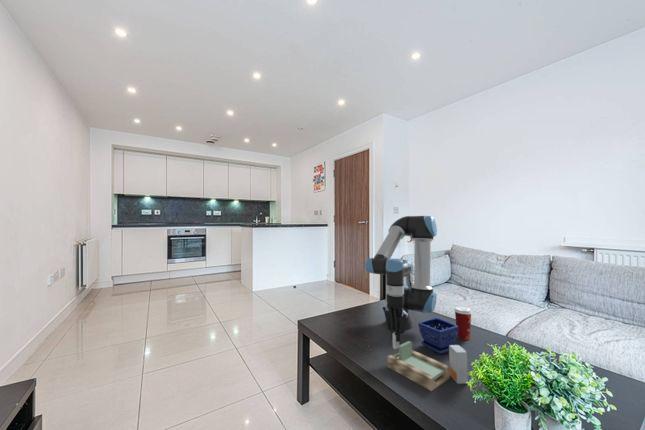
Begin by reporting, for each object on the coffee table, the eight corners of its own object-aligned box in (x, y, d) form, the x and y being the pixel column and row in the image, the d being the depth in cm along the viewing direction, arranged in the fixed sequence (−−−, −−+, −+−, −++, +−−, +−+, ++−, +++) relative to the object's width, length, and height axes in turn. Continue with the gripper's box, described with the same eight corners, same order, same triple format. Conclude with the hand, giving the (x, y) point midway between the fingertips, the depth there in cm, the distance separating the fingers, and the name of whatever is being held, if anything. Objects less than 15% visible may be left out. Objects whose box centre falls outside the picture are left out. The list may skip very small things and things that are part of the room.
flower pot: (440, 358, 119) (440, 331, 119) (417, 345, 131) (417, 321, 131) (459, 351, 125) (459, 325, 125) (436, 339, 137) (435, 316, 137)
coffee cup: (474, 341, 134) (474, 311, 134) (457, 340, 136) (456, 311, 136) (469, 334, 142) (468, 306, 143) (452, 333, 144) (452, 305, 144)
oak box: (387, 367, 112) (387, 356, 112) (406, 357, 120) (406, 347, 120) (431, 391, 96) (431, 378, 96) (449, 378, 104) (449, 366, 104)
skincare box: (449, 374, 106) (448, 344, 106) (459, 374, 106) (458, 344, 107) (457, 384, 100) (456, 352, 100) (468, 383, 100) (467, 352, 100)
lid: (393, 361, 113) (393, 344, 113) (405, 355, 118) (405, 338, 118) (432, 381, 98) (431, 361, 99) (444, 373, 103) (443, 354, 104)
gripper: (378, 292, 120) (379, 344, 120) (402, 299, 110) (403, 356, 109) (389, 289, 125) (389, 340, 124) (412, 296, 114) (414, 351, 114)
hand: (396, 347), depth 117 cm, fingers closed
